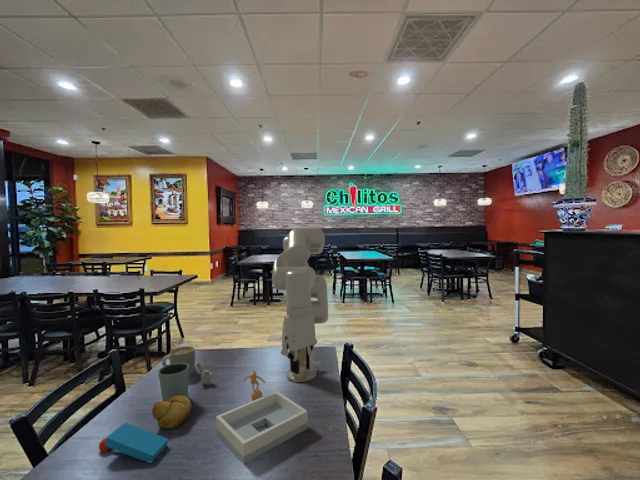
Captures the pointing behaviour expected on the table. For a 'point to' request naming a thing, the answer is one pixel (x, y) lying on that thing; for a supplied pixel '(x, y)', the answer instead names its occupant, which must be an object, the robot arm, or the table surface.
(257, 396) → the figurine
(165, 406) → the bread roll
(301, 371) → the peg
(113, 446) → the lever
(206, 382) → the lighter
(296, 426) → the tray
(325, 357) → the table surface
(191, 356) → the coffee mug
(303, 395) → the table surface
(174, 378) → the green cup
